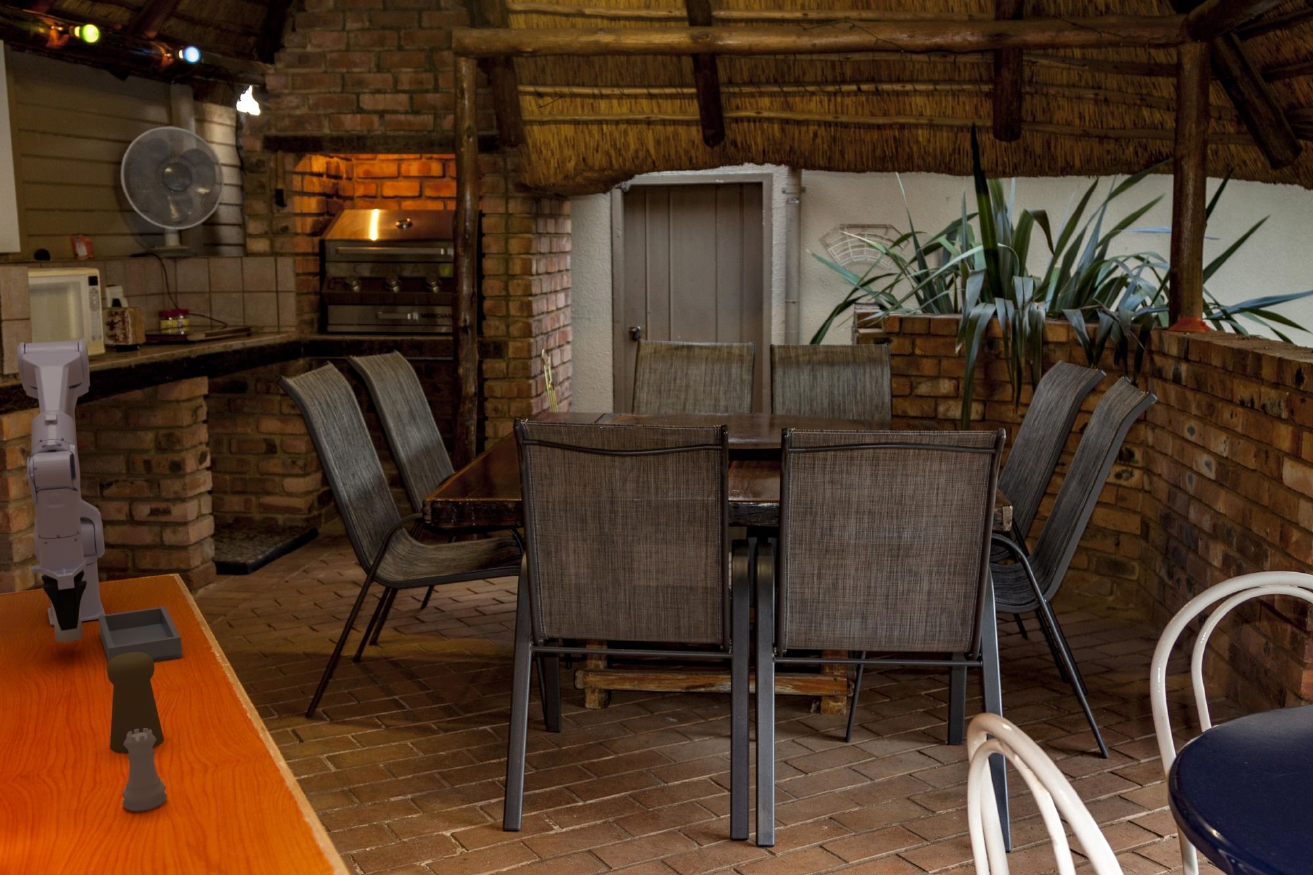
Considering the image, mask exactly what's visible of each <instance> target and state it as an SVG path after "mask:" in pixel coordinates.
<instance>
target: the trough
mask: <svg viewBox="0 0 1313 875" xmlns="http://www.w3.org/2000/svg"><path fill="white" fill-rule="evenodd" d="M98 618H99V619H98V628H99V635H100V639H101V643H102V646H103V649H104V653H105V656H106V659H107V662H108V664H109V662H110V660H111V659H113V658H114V657H116V656H118V655H121V654H124V653H130V652H142V653H146V654H148V655H150V657H151V658H152V659H153V662H154V663H156V662H161V661H166V660H174V659H181V658H183V648H182V636H181V635H180V633H179V631H178V629H177V627H176V625H175V622H174V621H173V619H172V617H171V615H170V612H169V610H168V609H167V607H166V606H159V607H158V606H157V607H150V608H144V609H139V610H138V609H137V610H130V611H129V610H128V611H124V612H116V613H108V614H105V615H101V616H98Z"/></svg>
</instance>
